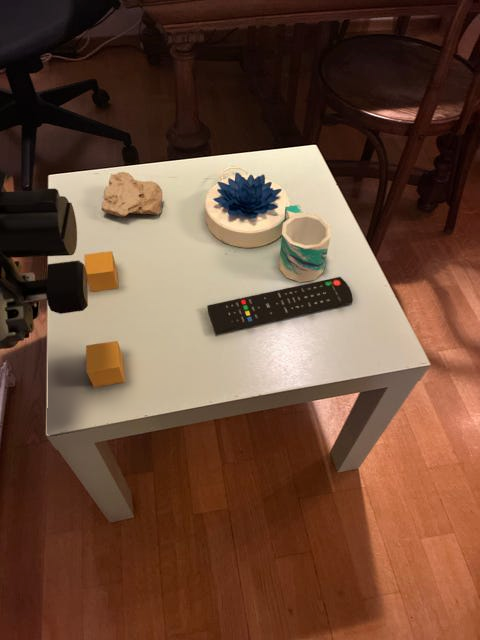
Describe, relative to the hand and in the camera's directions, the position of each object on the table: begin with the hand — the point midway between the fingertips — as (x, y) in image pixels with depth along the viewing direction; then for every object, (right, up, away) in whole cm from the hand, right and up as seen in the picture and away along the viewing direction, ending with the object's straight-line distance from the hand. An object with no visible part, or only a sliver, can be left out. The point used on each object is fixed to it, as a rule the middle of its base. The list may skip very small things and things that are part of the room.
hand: (26, 335), depth 62 cm
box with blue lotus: (+28, +23, +32) cm, 48 cm away
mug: (+38, +13, +25) cm, 47 cm away
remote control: (+34, +4, +19) cm, 39 cm away
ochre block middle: (+4, +9, +21) cm, 23 cm away
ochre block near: (+8, -6, +11) cm, 14 cm away
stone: (+6, +24, +32) cm, 41 cm away
